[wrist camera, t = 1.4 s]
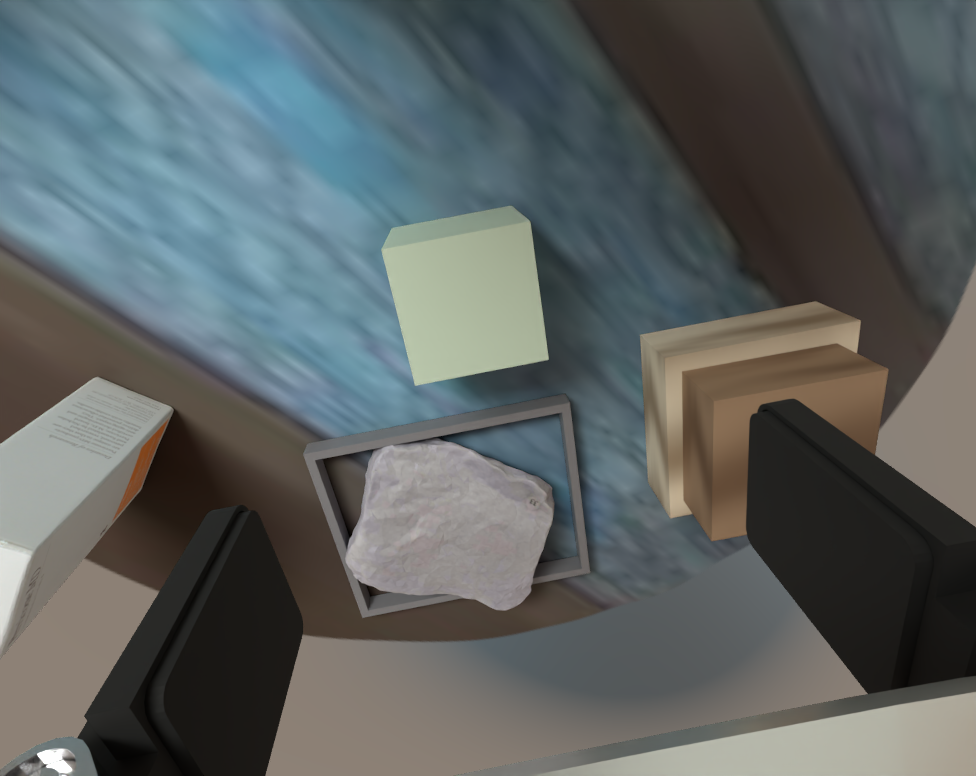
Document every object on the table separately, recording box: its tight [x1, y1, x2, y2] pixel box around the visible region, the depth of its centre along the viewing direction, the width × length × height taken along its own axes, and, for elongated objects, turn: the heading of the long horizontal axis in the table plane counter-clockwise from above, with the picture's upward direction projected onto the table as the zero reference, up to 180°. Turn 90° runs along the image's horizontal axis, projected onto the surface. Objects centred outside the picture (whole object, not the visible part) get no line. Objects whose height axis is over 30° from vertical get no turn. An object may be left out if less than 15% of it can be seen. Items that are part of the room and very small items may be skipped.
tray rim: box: [303, 394, 590, 618], centre depth 34 cm, size 12×15×1 cm
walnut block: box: [682, 343, 889, 541], centre depth 28 cm, size 8×8×4 cm
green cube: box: [381, 206, 549, 386], centre depth 26 cm, size 6×6×6 cm
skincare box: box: [0, 377, 174, 659], centre depth 25 cm, size 6×4×12 cm
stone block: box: [345, 437, 554, 610], centre depth 34 cm, size 12×5×10 cm
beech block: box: [640, 301, 861, 518], centre depth 31 cm, size 10×10×4 cm
